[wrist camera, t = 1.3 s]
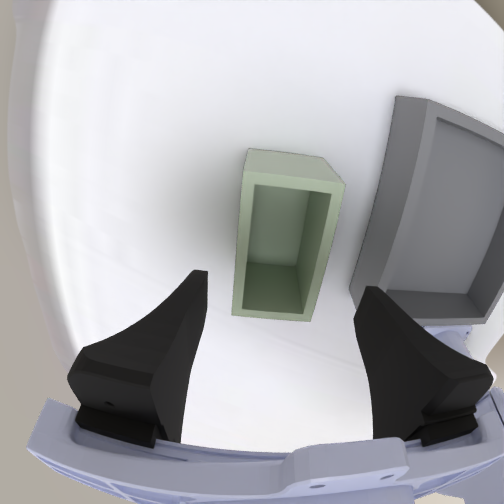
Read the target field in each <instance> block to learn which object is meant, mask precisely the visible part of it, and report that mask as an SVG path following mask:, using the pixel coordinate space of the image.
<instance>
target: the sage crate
mask: <svg viewBox="0 0 504 504" xmlns="http://www.w3.org/2000/svg"><path fill="white" fill-rule="evenodd" d="M345 185H346V184H345V183H344V182H343V180H342V179H341V178H340V177H339V176H338V175H337V173H336V172H335V171H334V170H333V169H332V168H331V167H330V165H329V164H328V163H327V162H326V161H325V160H324V159H323V158H320V157H314V156H307V155H300V154H293V153H285V152H277V151H268V150H259V149H248V153H247V157H246V161H245V165H244V169H243V177H242V189H241V200H240V212H239V223H238V235H237V248H236V260H235V273H234V286H233V300H232V314H231V315H233V316H243V317H253V318H264V319H277V320H290V321H305V322H311V318H312V315H313V312H314V308H315V305H316V301H317V298H318V294H319V291H320V287H321V284H322V280H323V276H324V273H325V269H326V265H327V261H328V258H329V254H330V250H331V246H332V242H333V238H334V234H335V229H336V225H337V221H338V217H339V212H340V208H341V203H342V199H343V194H344V190H345Z"/></svg>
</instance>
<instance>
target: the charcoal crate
mask: <svg viewBox="0 0 504 504" xmlns="http://www.w3.org/2000/svg"><path fill="white" fill-rule="evenodd" d="M366 286H378V287H379V288H380V289H381V290H383V291H384V292H385V293H386V294H387V295H388V296H389V297H390V298H391V299H392V300H393V301H394V302H395V303H396V304H397V305H398V306H399V307H400V308H401V309H403V310H404V311H405V312H406V313H407V314H408V315H409V316H410V317H411V318H412V319H413V320H414V321H416V322H417V323H418V324H419V325H420V326H445V325H473V324H485V323H486V321H487V320H488V318H489V316H490V315H491V313H492V311H493V310H494V308H495V306H496V304H497V302H498V301H499V299H500V297H501V295H502V293H503V292H504V134H503V133H501V132H499V131H497V130H495V129H493V128H491V127H489V126H488V125H486V124H484V123H482V122H480V121H478V120H475V119H473V118H471V117H469V116H467V115H465V114H463V113H460V112H458V111H456V110H454V109H451V108H449V107H446V106H444V105H442V104H439V103H437V102H434V101H431V100H429V99H422V98H414V97H404V96H396V99H395V105H394V112H393V118H392V123H391V129H390V135H389V140H388V145H387V150H386V155H385V160H384V164H383V169H382V173H381V178H380V182H379V186H378V190H377V194H376V198H375V202H374V206H373V210H372V214H371V218H370V221H369V225H368V228H367V232H366V235H365V239H364V242H363V246H362V249H361V252H360V256H359V259H358V262H357V265H356V268H355V272H354V275H353V278H352V281H351V284H350V287H349V291H350V294H351V296H352V299H353V302H354V305H355V308H356V310H357V308H358V306H359V303H360V301H361V298H362V295H363V293H364V290H365V287H366Z"/></svg>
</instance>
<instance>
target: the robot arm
mask: <svg viewBox="0 0 504 504" xmlns="http://www.w3.org/2000/svg"><path fill="white" fill-rule="evenodd" d="M207 292H208V271H202V270H193V271H192V272H191V273H190V274H189V275H188V276H187V278H186V279H185V280H184V281H183V282H182V283H181V284H180V285H179V286H178V288H177V289H176V290H175V291H174V292H173V293H172V294H171V295H170V296H169V297H168V298H167V299H165V300H164V301H163V302H162V303H161V304H160V305H159V306H158V307H157V308H155V309H154V310H153V311H152V312H150V313H149V314H148V315H146V316H145V317H144V318H142V319H141V320H139V321H138V322H136V323H135V324H133V325H131V326H130V327H128V328H126V329H125V330H123V331H121V332H119V333H117V334H115V335H113V336H111V337H109V338H107V339H104V340H102V341H99V342H97V343H94V344H91V345H89V346H86V347H83V348H82V350H81V351H80V353H79V354H78V356H77V358H76V359H75V361H74V363H73V365H72V367H71V369H70V371H69V373H68V376H67V380H68V383H69V385H70V387H71V389H72V390H73V392H74V394H75V395H76V397H77V398H78V400H79V401H80V403H81V406H80V409H79V411H77V410H76V409H75V408H73V407H71V406H69V405H67V404H64V403H61V402H59V401H56V400H54V399H51V398H48V399H47V401H46V402H45V405H44V407H43V409H42V411H41V413H40V415H39V418H38V420H37V422H36V424H35V427H34V429H33V431H32V434H31V436H30V439H29V441H28V443H27V446H26V448H27V450H28V451H29V452H31V453H32V454H33V455H34V456H36V457H37V458H38V459H40V460H41V461H42V462H43V463H45V464H46V465H47V466H48V467H50V468H51V469H53V470H54V471H56V472H57V473H60V474H62V475H64V476H66V477H68V478H71V479H73V480H75V481H78V482H80V483H82V484H85V485H87V486H90V487H92V488H95V489H97V490H100V491H102V492H105V493H108V494H111V495H113V496H116V497H119V498H122V499H125V500H128V501H131V502H134V503H138V504H415V503H414V500H415V499H418V498H421V497H424V496H426V495H429V494H432V493H434V492H437V493H439V494H442V495H448V496H453V497H459V498H463V499H464V501H465V504H504V393H503V391H502V389H501V388H499V387H497V388H496V387H493V388H492V389H491V391H490V387H491V385H492V383H493V376H492V374H491V372H490V370H489V368H488V366H487V365H486V364H483V363H481V362H478V361H476V360H474V359H473V358H472V356H471V354H470V352H469V350H468V348H467V347H466V345H465V343H464V341H465V339H466V338H467V336H468V335H469V333H470V332H471V330H472V326H471V325H452V326H425V327H423V328H422V327H421V326H420V325H419V324H418V323H417V322H416V321H414V320H413V319H412V318H411V317H410V316H409V315H408V314H407V313H406V312H405V311H404V310H403V309H401V308H400V307H399V306H398V305H397V304H396V303H395V302H394V301H393V300H392V299H391V298H390V297H389V296H388V295H387V294H386V293H385V292H384V291H383V290H381V289H380V288H379V287H378V286H366V287H365V290H364V293H363V295H362V298H361V301H360V303H359V306H358V308H357V311H356V313H355V316H354V318H353V319H354V326H355V332H356V338H357V341H358V345H359V348H360V352H361V355H362V359H363V362H364V366H365V369H366V373H367V377H368V381H369V387H370V395H371V404H372V415H373V440H365V441H356V442H345V443H330V444H319V445H311V446H307V447H303V448H300V449H296V450H295V451H293V452H292V453H272V452H249V451H236V450H225V449H215V448H207V447H200V446H193V445H187V444H181V443H180V442H181V433H182V425H183V417H184V410H185V403H186V396H187V390H188V384H189V378H190V373H191V369H192V365H193V361H194V358H195V355H196V351H197V348H198V345H199V341H200V338H201V335H202V331H203V328H204V324H205V318H206V312H207Z"/></svg>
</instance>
